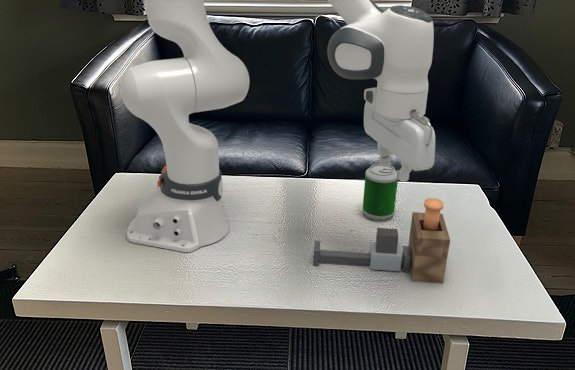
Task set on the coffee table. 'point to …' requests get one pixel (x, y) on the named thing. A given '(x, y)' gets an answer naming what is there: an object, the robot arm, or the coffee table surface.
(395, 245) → the carriage
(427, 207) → the plunger
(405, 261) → the rail
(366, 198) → the soda can
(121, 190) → the coffee table surface
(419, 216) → the wooden box with opening
